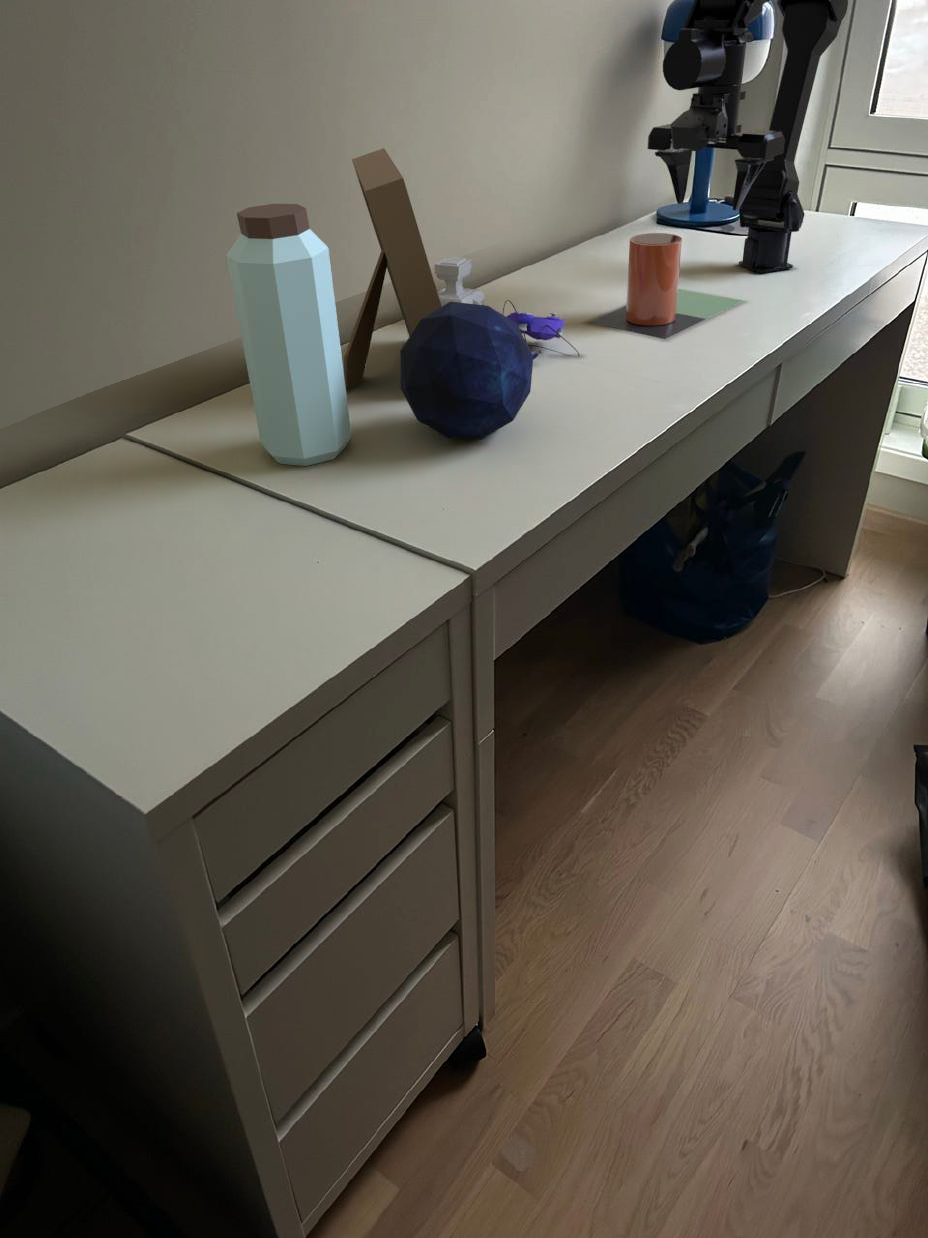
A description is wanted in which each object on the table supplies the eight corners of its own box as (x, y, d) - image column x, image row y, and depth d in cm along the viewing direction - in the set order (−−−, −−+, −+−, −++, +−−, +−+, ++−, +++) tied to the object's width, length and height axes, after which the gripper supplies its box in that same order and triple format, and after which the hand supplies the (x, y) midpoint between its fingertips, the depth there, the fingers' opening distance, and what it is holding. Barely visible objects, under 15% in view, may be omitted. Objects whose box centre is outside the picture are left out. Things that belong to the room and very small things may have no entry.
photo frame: (440, 338, 134) (428, 144, 120) (465, 393, 117) (454, 173, 102) (336, 349, 133) (311, 153, 118) (346, 406, 115) (317, 184, 101)
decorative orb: (552, 357, 110) (470, 255, 103) (567, 407, 98) (474, 295, 91) (459, 432, 115) (375, 339, 108) (461, 488, 103) (367, 387, 96)
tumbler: (643, 308, 141) (648, 230, 134) (685, 316, 137) (691, 236, 130) (616, 320, 137) (619, 240, 130) (657, 329, 132) (663, 247, 126)
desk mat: (668, 288, 149) (668, 287, 149) (742, 301, 142) (742, 300, 141) (588, 323, 137) (588, 321, 137) (665, 340, 129) (665, 338, 129)
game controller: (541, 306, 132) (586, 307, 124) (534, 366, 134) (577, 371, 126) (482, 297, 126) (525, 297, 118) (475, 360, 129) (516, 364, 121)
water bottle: (266, 435, 109) (225, 203, 95) (353, 428, 109) (325, 196, 95) (258, 473, 101) (212, 225, 86) (352, 465, 101) (321, 217, 87)
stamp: (418, 322, 141) (414, 263, 136) (441, 309, 146) (437, 252, 141) (471, 329, 137) (468, 269, 132) (492, 315, 142) (490, 257, 137)
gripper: (629, 86, 129) (622, 208, 138) (752, 91, 118) (736, 224, 127) (673, 79, 136) (664, 196, 144) (794, 83, 125) (776, 210, 134)
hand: (707, 206), depth 137 cm, fingers open, 9 cm apart
